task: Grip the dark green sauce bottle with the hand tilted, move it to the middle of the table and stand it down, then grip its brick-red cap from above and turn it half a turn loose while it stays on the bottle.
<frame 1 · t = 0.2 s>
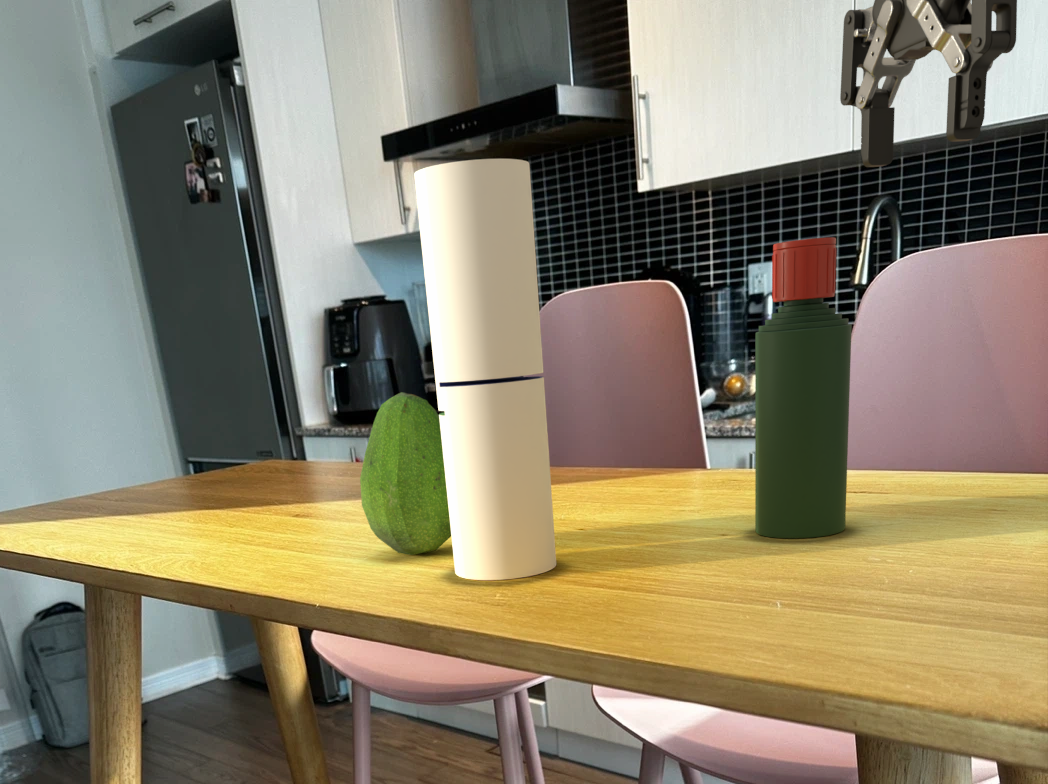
hand: (917, 153, 72), 25 cm above the table, tool pointing down, fingers open, 8 cm apart
bottle: (799, 529, 76), on the table
cap: (804, 247, 69), point 19 cm above the table, screwed on, not yet turned
cylindrical container: (506, 570, 72), on the table
avocado: (421, 555, 80), on the table
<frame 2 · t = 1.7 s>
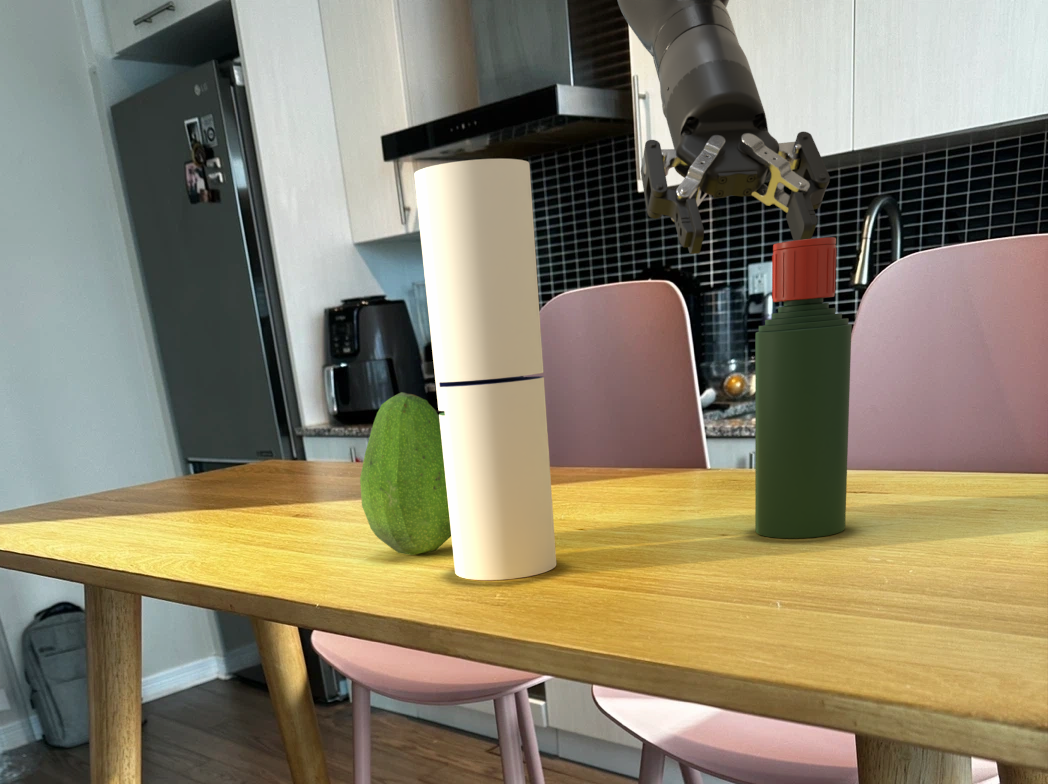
hand: (751, 241, 79), 20 cm above the table, tool tilted 45°, fingers open, 8 cm apart
nothing on the table moved.
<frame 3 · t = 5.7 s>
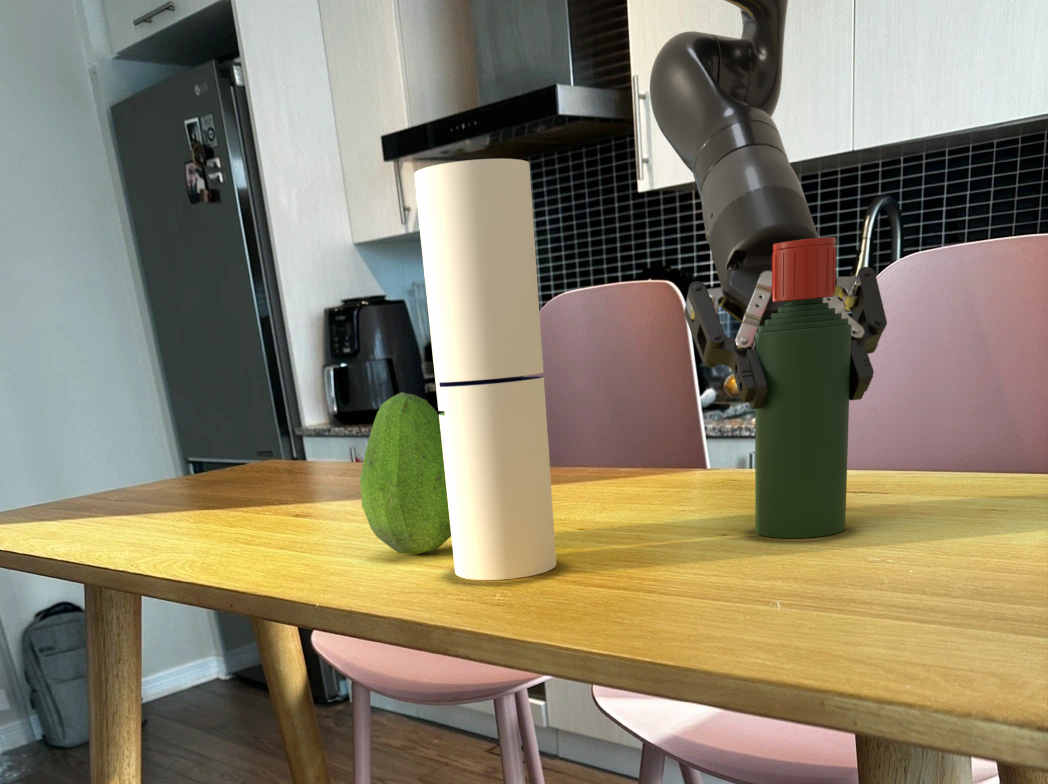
hand: (810, 395, 71), 10 cm above the table, tool tilted 45°, fingers closed on bottle, 6 cm apart
bottle: (799, 529, 76), on the table, touching gripper
everything else where it was.
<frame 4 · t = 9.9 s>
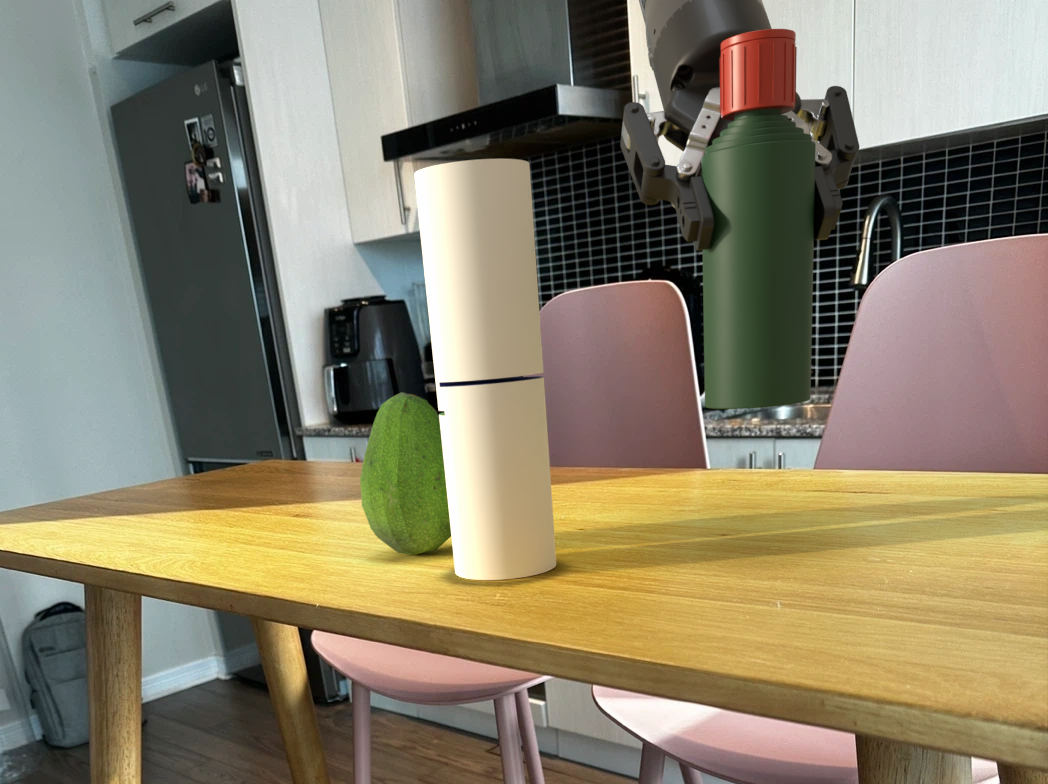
hand: (766, 232, 59), 20 cm above the table, tool tilted 45°, fingers closed on bottle, 6 cm apart
bottle: (757, 403, 64), point 10 cm above the table, touching gripper
cap: (757, 47, 57), point 29 cm above the table, screwed on, not yet turned
everything else where it was.
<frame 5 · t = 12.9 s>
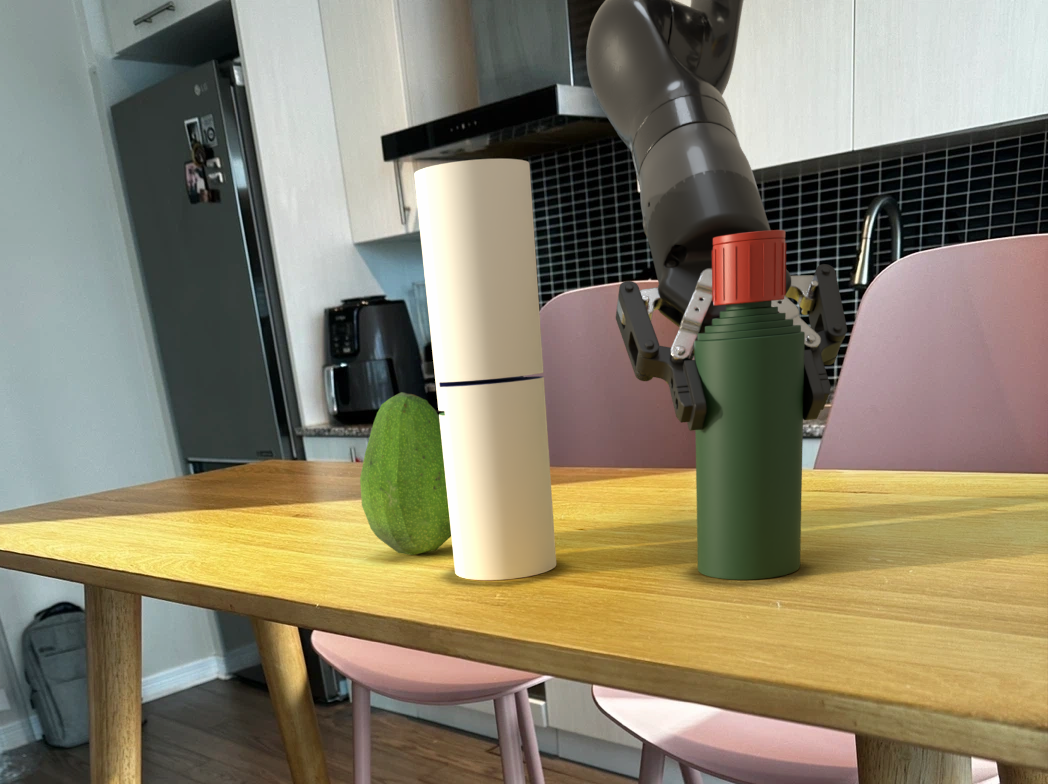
hand: (757, 415, 61), 10 cm above the table, tool tilted 45°, fingers closed on bottle, 6 cm apart
bottle: (748, 567, 66), on the table, touching gripper
cap: (748, 242, 59), point 19 cm above the table, screwed on, not yet turned
everything else where it was.
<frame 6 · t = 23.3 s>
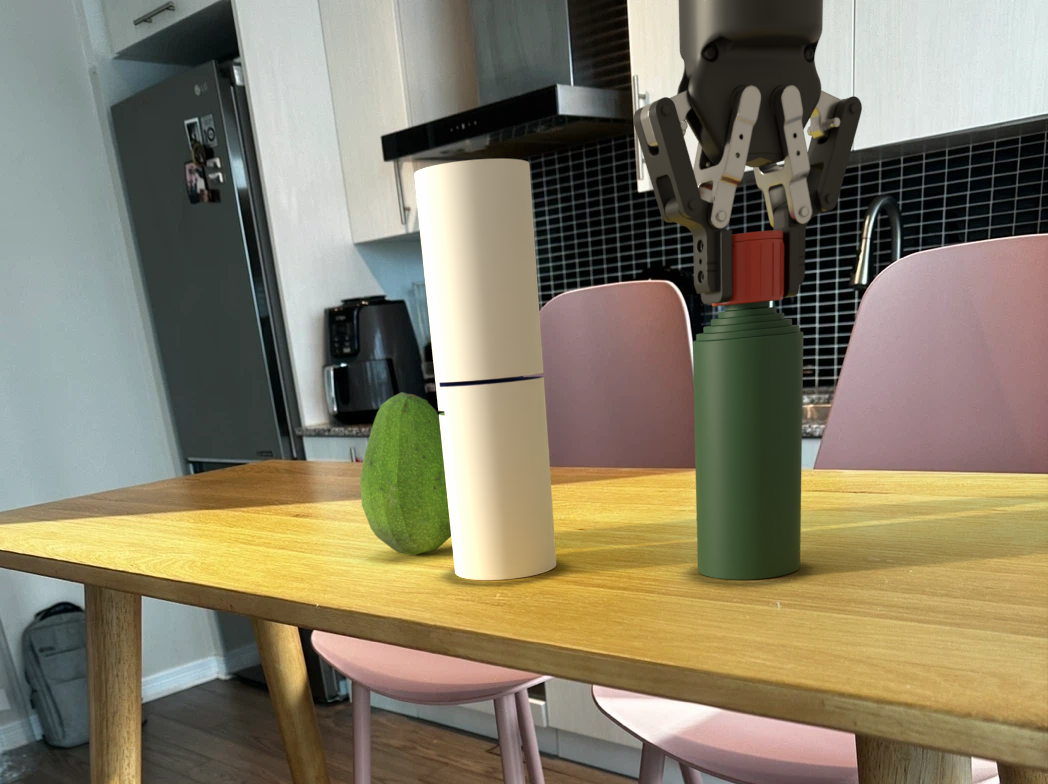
hand: (750, 298, 60), 16 cm above the table, tool pointing down, fingers closed on cap, 4 cm apart
bottle: (748, 568, 66), on the table
cap: (746, 242, 59), point 19 cm above the table, screwed on, not yet turned, touching gripper
everything else where it was.
when the fingers open (15 cm above the table, at t = 27.2 s): cap stays where it is, point 19 cm above the table.
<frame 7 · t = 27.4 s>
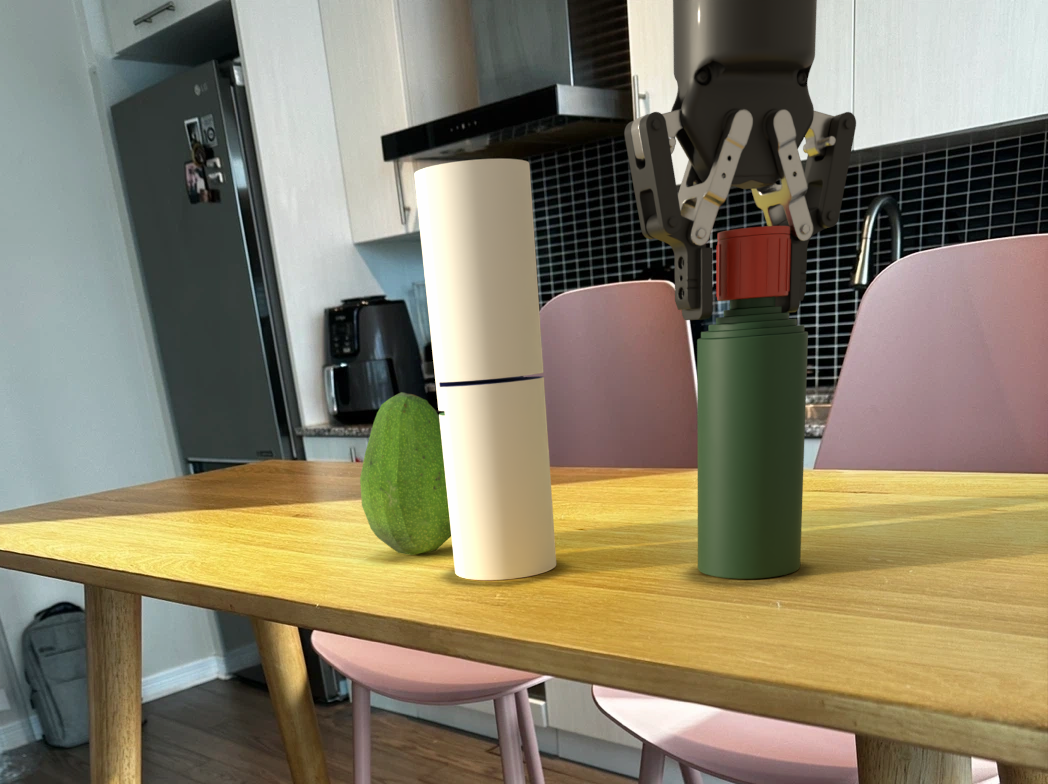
hand: (740, 314, 60), 15 cm above the table, tool pointing down, fingers open, 5 cm apart
cap: (753, 237, 59), point 19 cm above the table, turned 180° so far, risen 0.2 cm, still on its thread, touching gripper
everything else where it was.
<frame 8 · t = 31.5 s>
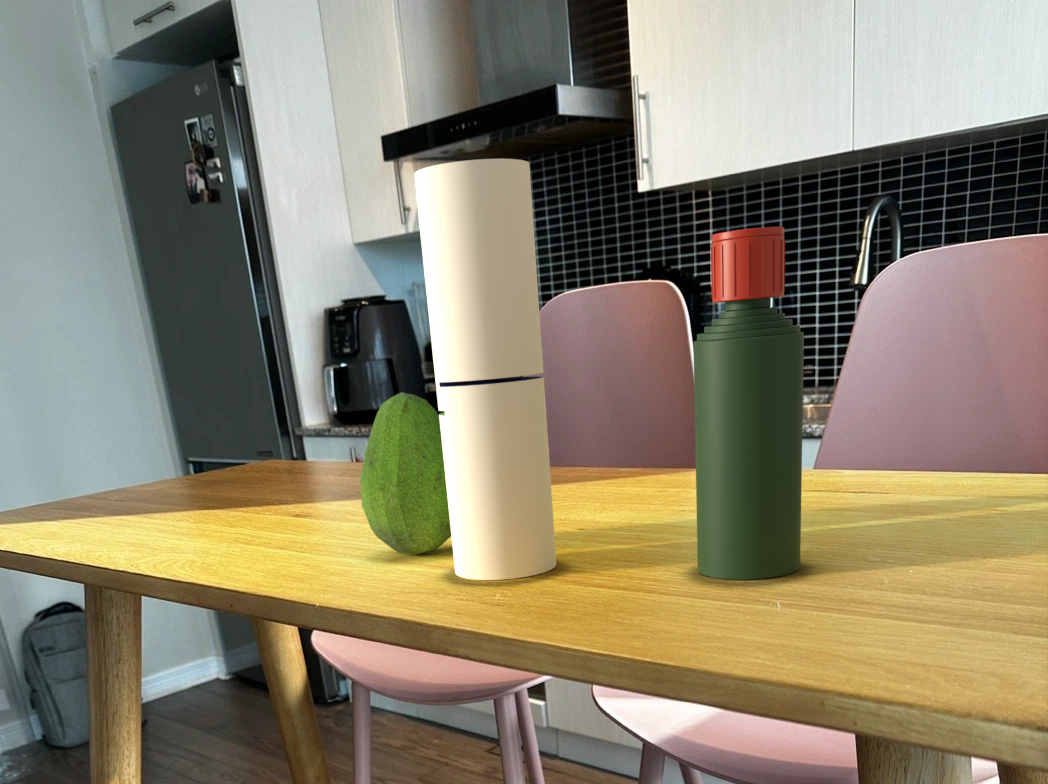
cap: (747, 239, 59), point 19 cm above the table, turned 180° so far, risen 0.2 cm, still on its thread
everything else where it was.
at the end: cap turned 0.50 turns (still on its thread); cap is still on its thread (0.50 turns); bottle inside the target area (0.3 cm from its centre), on the table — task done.
